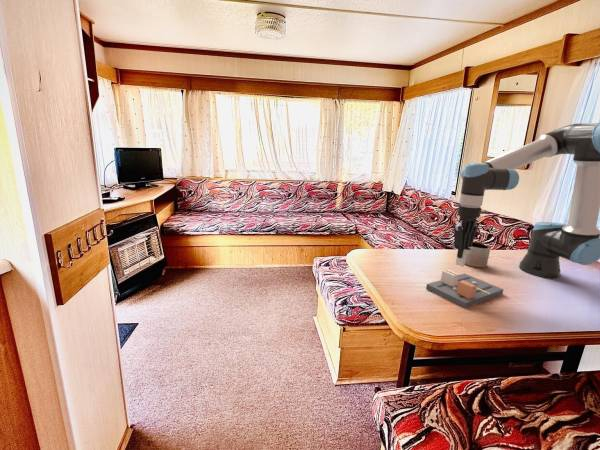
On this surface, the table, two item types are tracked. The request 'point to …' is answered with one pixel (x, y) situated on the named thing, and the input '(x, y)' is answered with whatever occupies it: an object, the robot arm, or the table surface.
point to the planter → (478, 255)
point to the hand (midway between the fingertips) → (460, 265)
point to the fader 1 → (449, 277)
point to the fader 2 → (466, 289)
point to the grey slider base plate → (449, 293)
